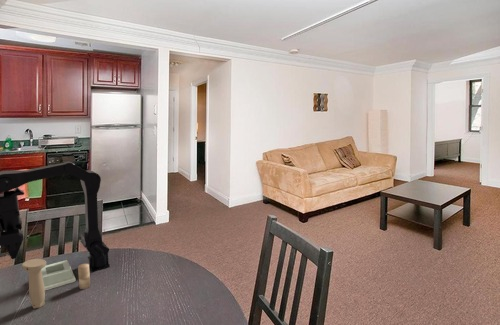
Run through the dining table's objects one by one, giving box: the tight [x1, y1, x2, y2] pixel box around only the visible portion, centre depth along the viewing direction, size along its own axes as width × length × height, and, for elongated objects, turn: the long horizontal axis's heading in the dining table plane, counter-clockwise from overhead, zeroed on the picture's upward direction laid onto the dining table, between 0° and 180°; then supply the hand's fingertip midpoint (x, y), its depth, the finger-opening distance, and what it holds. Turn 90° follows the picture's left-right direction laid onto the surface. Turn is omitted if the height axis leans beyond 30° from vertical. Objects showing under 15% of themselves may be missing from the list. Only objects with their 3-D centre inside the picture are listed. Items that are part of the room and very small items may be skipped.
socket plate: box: [42, 259, 77, 291], centre depth 106 cm, size 11×11×4 cm
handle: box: [22, 258, 47, 309], centre depth 91 cm, size 5×6×15 cm
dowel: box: [77, 263, 91, 290], centre depth 103 cm, size 3×3×8 cm
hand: (13, 253), depth 97 cm, fingers open, 9 cm apart
